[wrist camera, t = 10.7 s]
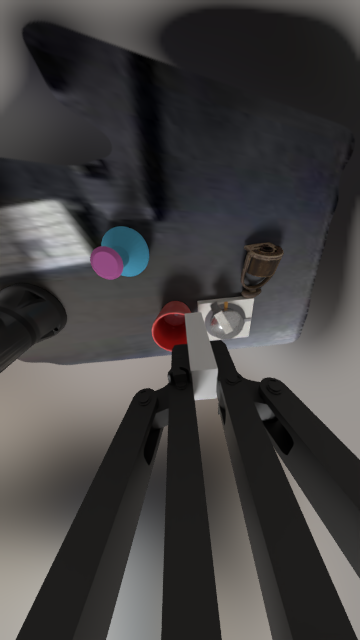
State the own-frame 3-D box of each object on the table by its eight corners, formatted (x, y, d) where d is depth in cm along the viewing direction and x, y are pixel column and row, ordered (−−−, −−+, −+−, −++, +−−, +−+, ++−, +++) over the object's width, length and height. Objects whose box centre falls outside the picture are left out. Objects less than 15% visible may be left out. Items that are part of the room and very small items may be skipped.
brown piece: (306, 251, 31) (270, 233, 28) (272, 309, 36) (237, 301, 33) (278, 247, 37) (245, 232, 34) (252, 297, 43) (221, 289, 39)
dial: (245, 325, 44) (256, 342, 38) (218, 339, 46) (224, 356, 40) (226, 290, 38) (236, 302, 32) (196, 308, 40) (200, 322, 34)
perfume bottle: (102, 230, 33) (56, 234, 21) (145, 221, 33) (125, 220, 20) (119, 274, 38) (89, 299, 25) (156, 267, 37) (145, 289, 25)
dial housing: (199, 337, 48) (200, 342, 46) (197, 300, 42) (198, 304, 40) (245, 332, 48) (249, 337, 46) (250, 295, 42) (254, 299, 39)
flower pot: (186, 288, 40) (188, 304, 32) (200, 321, 46) (206, 343, 37) (149, 303, 42) (142, 323, 34) (167, 334, 48) (165, 357, 39)
